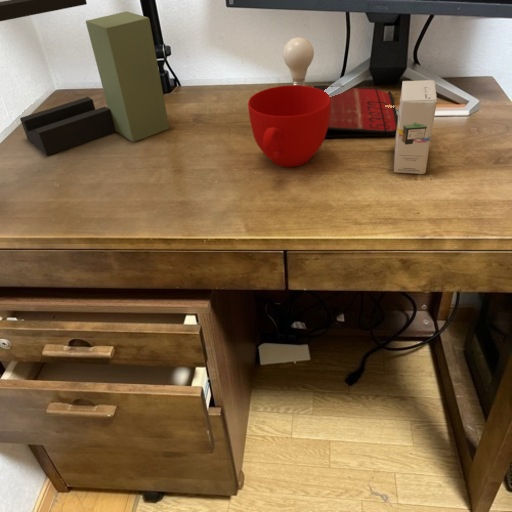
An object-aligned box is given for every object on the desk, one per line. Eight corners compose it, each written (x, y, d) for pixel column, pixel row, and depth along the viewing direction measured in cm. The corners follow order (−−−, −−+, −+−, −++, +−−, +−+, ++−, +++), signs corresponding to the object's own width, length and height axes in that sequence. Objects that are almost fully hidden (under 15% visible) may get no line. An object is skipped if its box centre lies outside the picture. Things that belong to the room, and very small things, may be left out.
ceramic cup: (230, 183, 78) (224, 123, 72) (268, 137, 90) (265, 82, 84) (309, 194, 74) (309, 132, 68) (337, 144, 86) (339, 88, 80)
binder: (309, 126, 87) (312, 84, 103) (309, 138, 88) (311, 95, 105) (402, 128, 85) (390, 85, 102) (400, 141, 87) (388, 96, 103)
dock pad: (27, 139, 96) (19, 117, 93) (93, 117, 103) (87, 96, 100) (47, 156, 90) (38, 133, 87) (116, 131, 97) (110, 109, 94)
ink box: (393, 148, 84) (401, 78, 76) (424, 149, 83) (435, 79, 75) (392, 173, 77) (401, 99, 70) (425, 174, 76) (438, 100, 69)
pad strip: (-82, 32, 69) (-88, 17, 68) (79, 1, 81) (75, -12, 79) (-77, 36, 67) (-84, 20, 66) (87, 4, 79) (83, -10, 78)
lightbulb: (318, 88, 108) (319, 34, 101) (304, 98, 104) (304, 43, 97) (293, 84, 110) (292, 32, 104) (278, 94, 106) (276, 40, 100)
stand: (113, 130, 97) (85, 20, 85) (148, 117, 101) (126, 11, 89) (133, 142, 92) (106, 28, 80) (169, 128, 96) (149, 17, 84)
